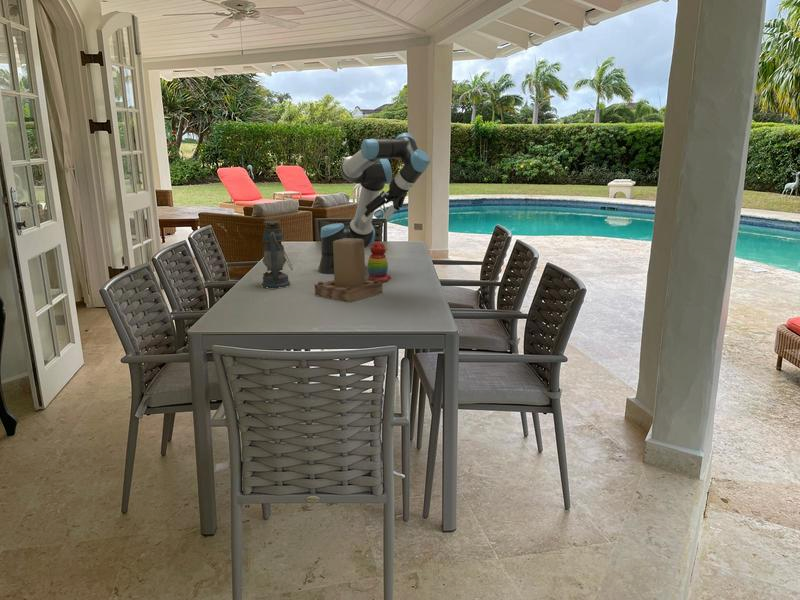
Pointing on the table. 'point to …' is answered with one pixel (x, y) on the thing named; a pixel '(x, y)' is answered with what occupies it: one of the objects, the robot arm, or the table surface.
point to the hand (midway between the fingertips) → (374, 219)
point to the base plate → (348, 297)
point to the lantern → (274, 256)
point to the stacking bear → (378, 263)
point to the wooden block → (349, 262)
